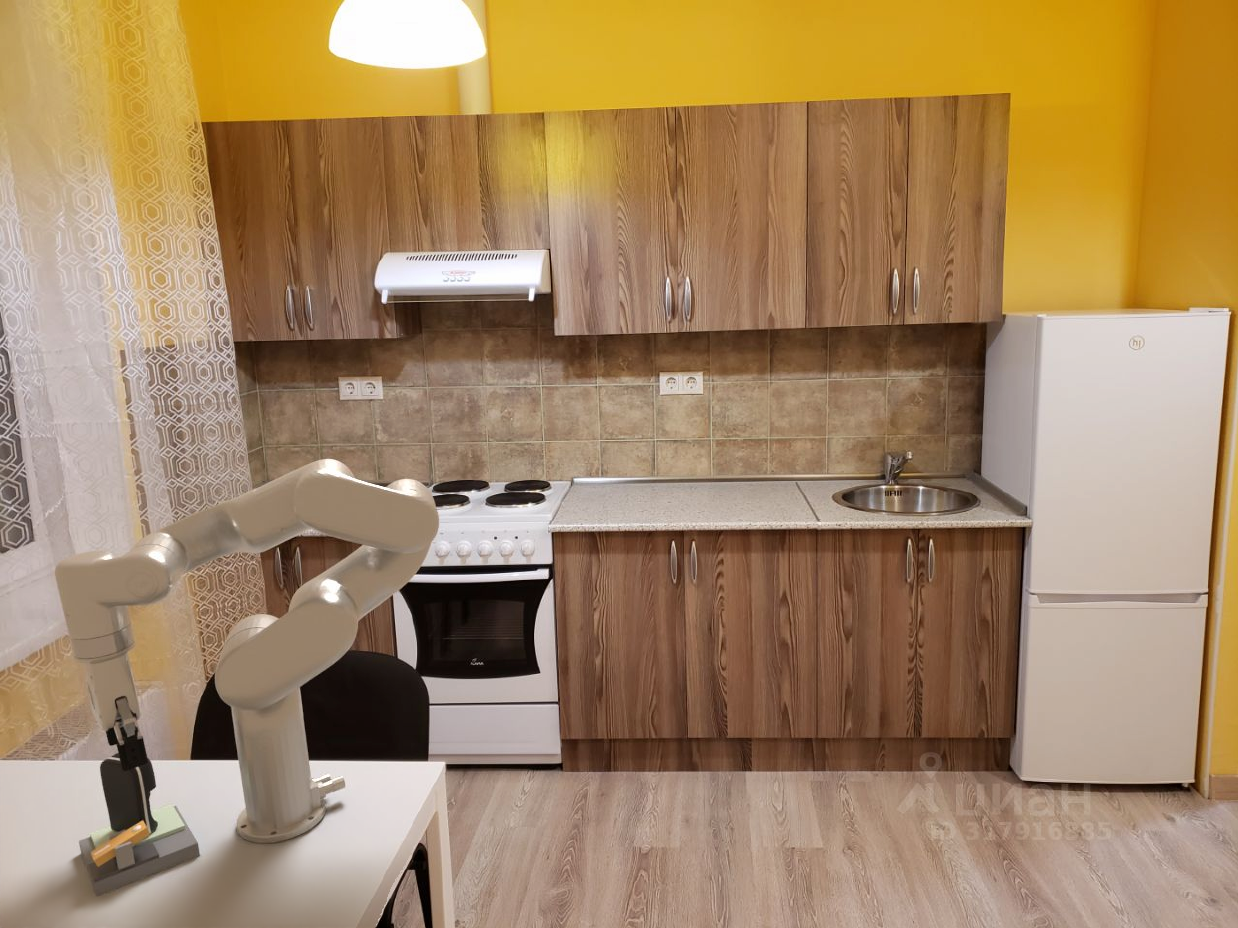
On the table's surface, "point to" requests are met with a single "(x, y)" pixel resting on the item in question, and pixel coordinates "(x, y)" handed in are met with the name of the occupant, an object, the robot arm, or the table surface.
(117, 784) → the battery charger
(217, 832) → the table surface
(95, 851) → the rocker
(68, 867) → the table surface
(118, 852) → the grey holder stand
